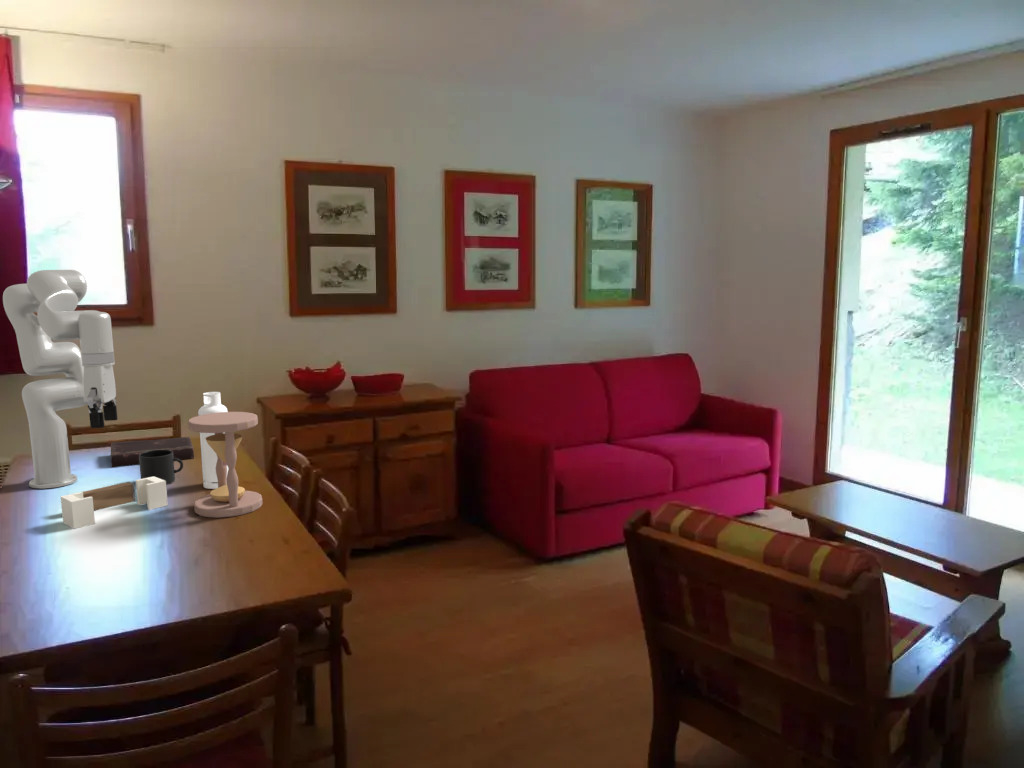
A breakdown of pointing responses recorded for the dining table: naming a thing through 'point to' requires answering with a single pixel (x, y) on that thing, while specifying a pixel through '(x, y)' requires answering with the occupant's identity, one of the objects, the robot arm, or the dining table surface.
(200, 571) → the dining table surface
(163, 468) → the mug
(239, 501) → the hourglass
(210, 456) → the bottle
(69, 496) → the white u-channel cradle
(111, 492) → the rail
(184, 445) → the diary
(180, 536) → the dining table surface
